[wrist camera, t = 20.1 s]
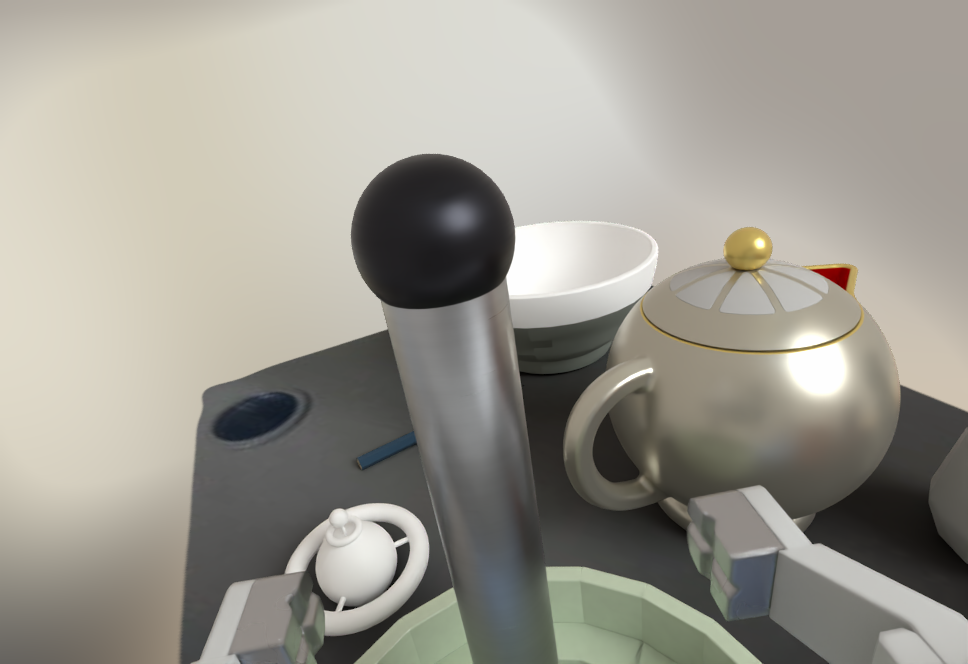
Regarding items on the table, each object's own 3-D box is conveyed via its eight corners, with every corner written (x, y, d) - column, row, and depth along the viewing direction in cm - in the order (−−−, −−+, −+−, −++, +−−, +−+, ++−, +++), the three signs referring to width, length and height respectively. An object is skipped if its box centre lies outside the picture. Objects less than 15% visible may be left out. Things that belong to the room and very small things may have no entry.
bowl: (700, 331, 49) (704, 232, 45) (562, 436, 38) (550, 319, 34) (545, 291, 63) (537, 213, 59) (412, 360, 52) (391, 270, 48)
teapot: (735, 400, 39) (752, 177, 32) (939, 522, 28) (1039, 216, 20) (520, 491, 34) (482, 251, 27) (660, 688, 22) (660, 358, 15)
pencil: (358, 465, 39) (521, 386, 45) (363, 472, 38) (528, 391, 45) (355, 456, 39) (520, 378, 45) (360, 463, 38) (527, 383, 44)
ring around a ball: (464, 560, 30) (371, 508, 34) (444, 486, 27) (346, 441, 32) (359, 689, 24) (265, 607, 29) (321, 613, 22) (225, 537, 27)
